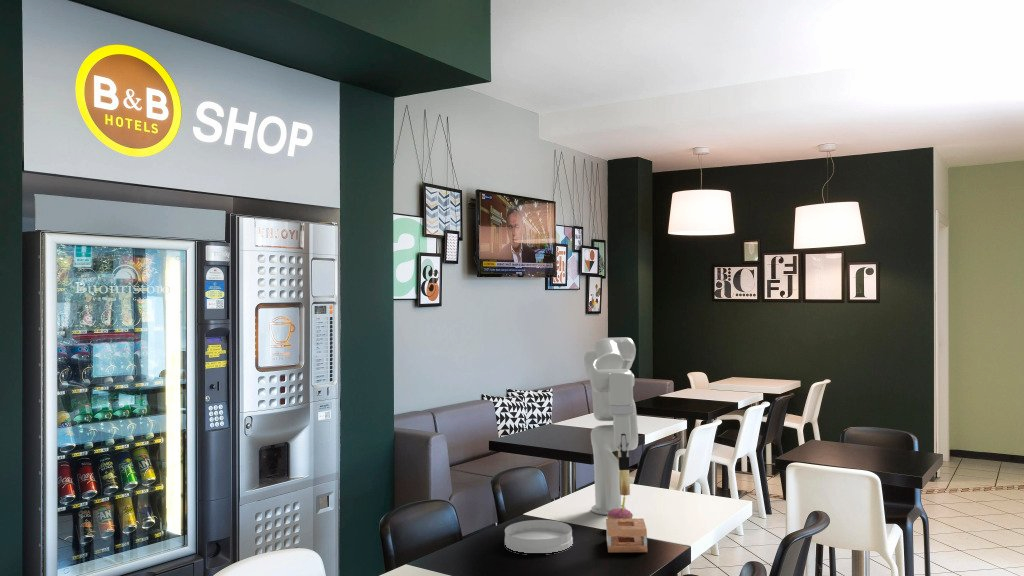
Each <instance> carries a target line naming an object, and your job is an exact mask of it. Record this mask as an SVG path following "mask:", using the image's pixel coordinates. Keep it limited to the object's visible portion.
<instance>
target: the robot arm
mask: <svg viewBox="0 0 1024 576" xmlns="http://www.w3.org/2000/svg"><path fill="white" fill-rule="evenodd" d="M636 351H637V348H636V344H635V342H634V341H633V339H632V338H631V337H626V336H625V337H603V338H601V339H598V341H596V342H595V344H594V349H590V350H588V351H586V352H585V353H584V355H583V356H584V358H583V362H584V367H585V370H586V374H587V376H588V378H589V382H590V386H591V397H592V410H593V411H592V412H593V416H594V419H595V420H596V421H599V422H612V424H602V425H597V426H595V427H593V428H592V429H591V431H590V441H591V446H592V453H593V470H594V471H593V472H594V499H595V500H594V502H595V503H594V505H592V506H591V512H592V513H594V514H597V515H604V516H605V515H606V516H607V515H608V513H609V511H611V510H612V509H616V508H622V495H620V487H619V470H629V471H630V456H629V457H628V455H629V451H633V450H635V449H638V446H639V445H638V444H639V431H638V428H639V427H638V418H637V417H638V416H637V414H638V413H637V407H636V406H637V405H636V403H635V400H634V388H633V387H635V383H636V378H635V375H634V373H633V372H632V370H630V369H631V368H632V365H633V363H634V361H635V358H636V354H637V353H636ZM621 439H622V440H621ZM620 445H622V447H620ZM626 445H627V447H626ZM618 446H619V460H618V457H616V456H615V454H614V453H613V452H618ZM621 449H622V450H621ZM626 508H627V507H626V506H625V505H624V509H626Z"/></svg>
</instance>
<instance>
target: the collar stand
mask: <svg viewBox="0 0 1024 576" xmlns="http://www.w3.org/2000/svg"><path fill="white" fill-rule="evenodd" d="M605 525H606V526H605V528H606V529H605V530H606V546H607V553H648V532H647V531H648V530H647V529H648V528H647V525H646V523H645V520H644V518H632V519H608V518H606V519H605Z"/></svg>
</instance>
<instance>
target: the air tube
mask: <svg viewBox="0 0 1024 576" xmlns="http://www.w3.org/2000/svg"><path fill="white" fill-rule="evenodd" d="M621 440H622V439H621ZM620 447H622V445H620ZM626 447H627V445H626ZM621 450H622V449H621ZM628 457H629V458H630V456H629V454H628ZM617 459H618V460H619V446H618V451H617ZM619 487H620V495H621V496H624V495H625V496H629V495H630V496H631V486H630V469H629V470H619Z"/></svg>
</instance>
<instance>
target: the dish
mask: <svg viewBox="0 0 1024 576" xmlns="http://www.w3.org/2000/svg"><path fill="white" fill-rule="evenodd" d="M573 540H574V537H573V529H572V526H571V525H569V524H568V523H566V522H562V521H559V520H558V521H557V520H551V519H550V520H549V519H533V520H532V519H530V520H522V521H518V522H515V523H511V524H509V525H508V526H506V527H505V529H504V546H505V545H506V547H507V548H509V549H511V550H513V551H518V552H524V553H552V552H558V551H562V550H565V549H567V548H569V547H570V546H572V547H573V545H574V541H573ZM572 544H573V545H572ZM506 547H505V548H506ZM507 548H506V549H507ZM570 548H571V547H570ZM570 548H569V549H570ZM567 550H568V549H567ZM565 551H566V550H565ZM562 552H563V551H562ZM558 553H559V552H558Z"/></svg>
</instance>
